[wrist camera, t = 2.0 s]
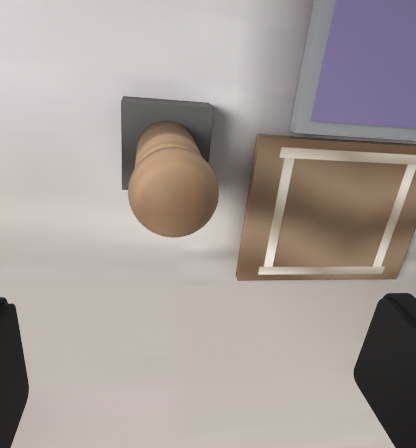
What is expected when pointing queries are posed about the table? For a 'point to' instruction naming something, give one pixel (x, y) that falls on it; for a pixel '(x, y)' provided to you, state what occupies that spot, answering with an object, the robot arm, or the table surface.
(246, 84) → the table surface
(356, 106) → the ink pad
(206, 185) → the stamp
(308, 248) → the marked board
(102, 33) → the table surface
